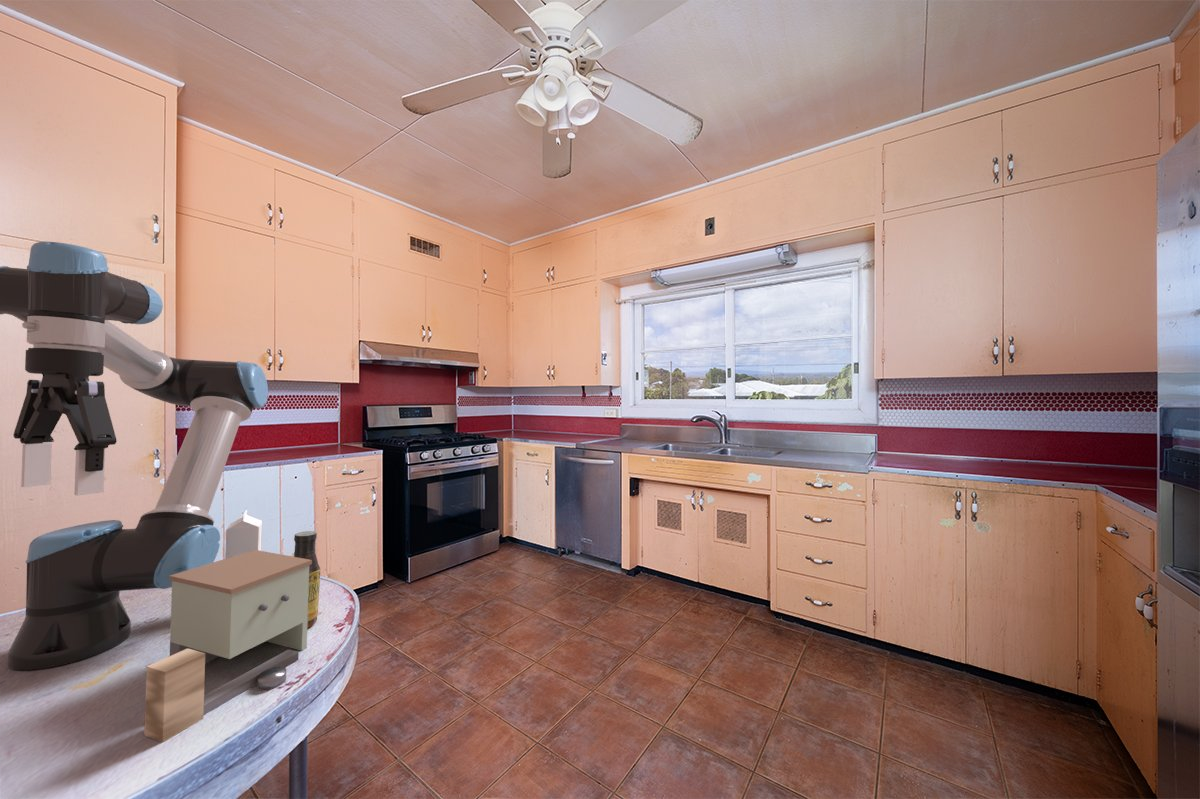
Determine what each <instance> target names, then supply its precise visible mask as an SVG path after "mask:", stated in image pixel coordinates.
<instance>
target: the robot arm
mask: <svg viewBox="0 0 1200 799" xmlns="http://www.w3.org/2000/svg"><path fill="white" fill-rule="evenodd" d="M105 256H106V255H104V254H103V253H102V252H101V251H97V250H94V249H92V248H89V247H86V246H81V245H77V244H72V243H64V242H59V241H58V242H57V241H56V242H55V241H38V242H35V243H33V244H32V245H31V247H30V250H29V257H28V258H29V259H28V265H27V266H26V268H19V267H11V266H9V265H8V266H6V265H2V266H0V315H8V316H9V315H10V316H13V317H15V318H16V319H18V320H20V321H22V323H21V325H22V328H23V329H27V330H26V343H28V344H29V345H33V346H32V347H28V348H27V349H25V356H24V357H25V359H24V360H25V361H24V362H25V364H24V365H25V366H24V367H25V368H24V370H25V372H27V373H28V374H36V375H42V377H41V378H42V379H28V380H27V383H26V384H27V386H26V393H25V397H24V400H23V403H22V407H21V410H20V413H19V416H18V419H17V422H16V425H15V428H14V432H13V438H14V439H19V441H20V443H21V444H22V457H21V479H20V480H21V482H20V484H21V486H20V488H29V487H37V486H46V485H47V486H48V485H51V481H52V480H51V478H52V475H51V474H52V453H53V451H52V447H53V443H54V442H55V440H54V437H53V436H52V433H53V432H54V430H55V428H56V427H57V424H58V423H59V421H60V419H61V417H62V415H65V416H66V418H67V420H68V422H69V424H70V426H71V429H72V431H73V433H74V436H75V438H76V439H77V442H78V443H77V444H76V445H75V446H74V448H73V450H74V451H75V468H74V469H75V470H74V471H75V472H74V474H75V475H74V496H84V495H90V494H91V495H93V494H99V493H104V489H105V488H104V487H105V484H104V482H105V460H106V459H105V458H106V449H108V448H109V446H111V445H116V444H117V441H118V440H117V435H116V434H115V429H114V425H113V422H112V418H111V413H110V410H109V407H108V403H107V399H106V396H105V395H106V391H105V390H106V389H105V383H104V381H91V380H90V378H89V377H100V376H103V374H104V368H106V369H108V370H110V371H112V372H113V373H115V374H117V375H118V376H119V378H120V381H121V382H122V383H124V384H125V385H126V386H127V387H129V388H131V389H133V390H134V391H137V392H140V393H141V394H144V395H146V396H148V397H151V398H153V399H156V400H159V401H161V402H164V403H168V404H172V405H176V406H182V407H190V409H191V410H192V411H193V412H194V416H193V418H192V420H191V423H190V425H189V427H188V429H187V432H186V435H185V436H184V438H183V442H182V444H181V447H180V448H179V451H178V453H177V456H176V457H175V458H176V459H175V461H174V463H173V465H172V467H171V470H170V473H169V475H168V477H167V480H166V482H165V484H164V486H163V489H162V491H161V493H160V496H159V497H158V498H159V499H158V501H157V503H156V505H155V508H153V509H152V510H149V511H147V512H145V513H143V514H142V515H141V516H140V519H139V521H138V523H137V525H136V527H135V528H123V527H124V524H123V522H122V520H117V519H108V520H101V521H95V522H89V523H83V524H77V525H74V526H73V525H72V526H68V527H65V528H61V529H57V530H53V531H49V532H45V533H43V534H41V535H38V536H37V537H35V538H34V539H32V541H31V542H30V543H29V545H28V552H27V558H26V560H25V563H26V589H25V590H26V591H25V595H26V596H25V617H24V620H23V622H22V624H21V625H20V628H19V629H18V632H17V634H16V636H15V638H14V640H13V642H12V644H11V647H10V648H9V650H8V655H7V656H8V658H7V666H8V667H9V668H10V669H12V670H17V671H33V670H42V669H47V668H48V669H49V668H54V667H58V666H59V667H60V666H63V665H68V664H71V663H75V662H79V661H81V660H85V659H88V658H90V657H93V656H95V655H96V656H97V655H98V654H101V653H103V652H105V651H108V650H110V649H112V648H115V647H116V646H118V645H120V644H121V643H123V642H124V641H125V640H127V639H128V638H129V637H130V635H131V634H132V633H131V631H132V621H131V619H130V617H129V615H128V613H127V610H126V608H125V606H124V604H123V602H122V600H121V598H120V592H121V591H122V592H123V591H136V590H137V591H138V590H150V589H153V590H154V589H160V590H161V589H162V590H166V589H170V588H171V589H172V581H170V580H169V576H170V575H173V574H177V573H180V572H183V571H187V570H190V569H193V568H197V567H200V566H203V565H207V564H210V563H213V562H215V560H216V557H217V555H218V553H219V549H220V545H221V544H220V540H221V535H220V531H219V529H218V528H217V527H215V526H214V524H215V520H214V518H212V517H211V515H209V513H210V509H211V507H212V504H213V501H214V498H215V495H216V492H217V489H218V486H219V483H220V481H221V478H222V475H223V472H224V470H225V467H226V464H227V461H228V459H229V455H230V452H231V450H232V447H233V445H234V442H235V438H236V435H237V434H238V433H237V432H238V430H239V426H240V424H241V423H242V422H244V421H247V420H248V419H250V418H251V415H252V413H253V410H254V409H257V410H258V409H262V408H264V407H265V406H266V404H267V403H268V396H269V389H268V388H269V386H268V381H267V377H266V374H265V372H264V370H263V368H261V366H259V365H258V364H256V363H253V362H245V361H244V362H243V361H240V360H238V361H219V360H202V359H200V360H198V359H184V358H175V357H171V356H168V355H167V354H166V353H164V352H161V351H159V350H153V349H152V350H151V349H150V348H148V347H147V346H145V345H144V344H143V343H142V342H140V341H138V340H137V339H135V338H134V337H133V336H131V335H130V334H128V333H127V332H125V331H124V330H122V329H121V328H119V327H118V326H117V325H115V324H114V323H112V322H111V321H114V322H121V323H123V324H131V325H147V324H149V323H152V322H153V321H155V320H156V319H158V318H159V317H160V315H161V314H162V311H163V300H162V298H161V296H160V295H159V293H158V292H157V291H156V290H154V289H153V288H151V287H149V286H147V285H145V284H143V283H142V282H140V281H137V280H135V279H130V278H126V277H123V276H121V275H120V276H119V275H118V274H114V273H111V272H109V267H108V260H107V258H106V257H105Z"/></svg>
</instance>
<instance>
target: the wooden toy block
mask: <svg viewBox="0 0 1200 799" xmlns="http://www.w3.org/2000/svg"><path fill="white" fill-rule="evenodd" d="M297 661H299V651H297V650H292V649H287V650H285V651H282V652H281V653H279V654H278V655H276V656H274V657H271V659H268V660H266V661H264V662H263V663H261V664H259V665H258V666H256V667H254V668H252V669H250V670H248V671H246V672H244V673H243V674H241V675H239V676H237V677H235V678H233V679H232V680H230V681H228V682H226V683H224V684H223V685H221V686H219V687H217V688H216V689H213V690H212V691H210V692H208V693H206V694H205V677H206V676H205V675H206V672H205V671H206V663H205V653H203V652H199V651H196V650H192V649H188V648H187V649H185V650H183V651H180V652H178V653H176V654H174V655H171V656H170V655H169V656H167V657H165V658H163V659H160V660H158V661H156V662H153V663H152V664H149V665H147V666H146V681H145V682H146V684H145V705H144V707H145V708H144V710H145V711H144V735H143V736H145V737H148V738H150V739H153V740H156V741H158V742H161V743H165V742H166V741H168V740H169V739H171V738H172V737H174V736H176V735H177V734H179V733H182V732H183V731H185V730H186V729H188V728H190V727H192V726H193V725H195V724H197V723H199V722H200V721H201V720H203V719H204V716H205V715H207V714H208V713H210V712H212V711H213V710H215V709H217V708H218V707H220V706H222V705H224V704H225V703H227V702H229V701H230V700H232V699H235V697H237V696H239V695H241V694H242V693H244V692H246V691H248V690H249V689H251V688H253V687H255V685H257V680H258V675H259V674H260V673H261V672H263V671H265V670H267V669H269V668H273V667H279V666H281V667H285V668H287V667H289V666H290V665H292V664H293V663H296V662H297Z"/></svg>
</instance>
